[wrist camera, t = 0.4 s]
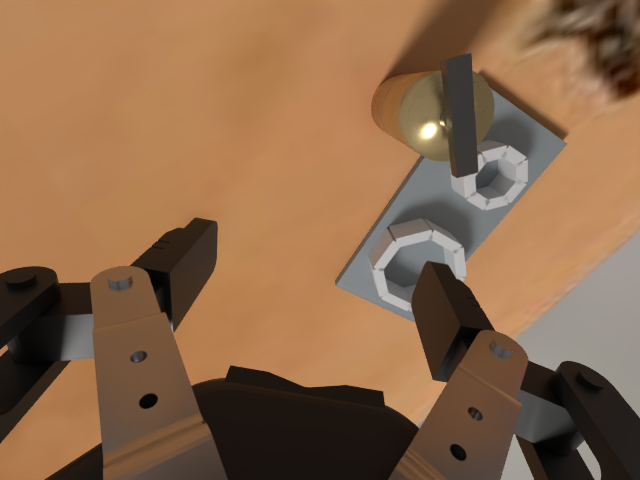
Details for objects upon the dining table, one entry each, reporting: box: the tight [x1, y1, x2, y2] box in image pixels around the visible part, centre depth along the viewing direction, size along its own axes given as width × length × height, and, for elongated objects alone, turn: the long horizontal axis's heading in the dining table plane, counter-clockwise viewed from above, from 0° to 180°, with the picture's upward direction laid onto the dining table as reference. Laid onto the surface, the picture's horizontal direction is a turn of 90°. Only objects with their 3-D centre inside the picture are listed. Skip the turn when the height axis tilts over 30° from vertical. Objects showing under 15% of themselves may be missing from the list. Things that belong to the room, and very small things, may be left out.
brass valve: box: [371, 53, 494, 178], centre depth 23 cm, size 6×5×14 cm
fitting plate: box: [335, 89, 567, 322], centre depth 32 cm, size 24×11×4 cm, turn 151°
